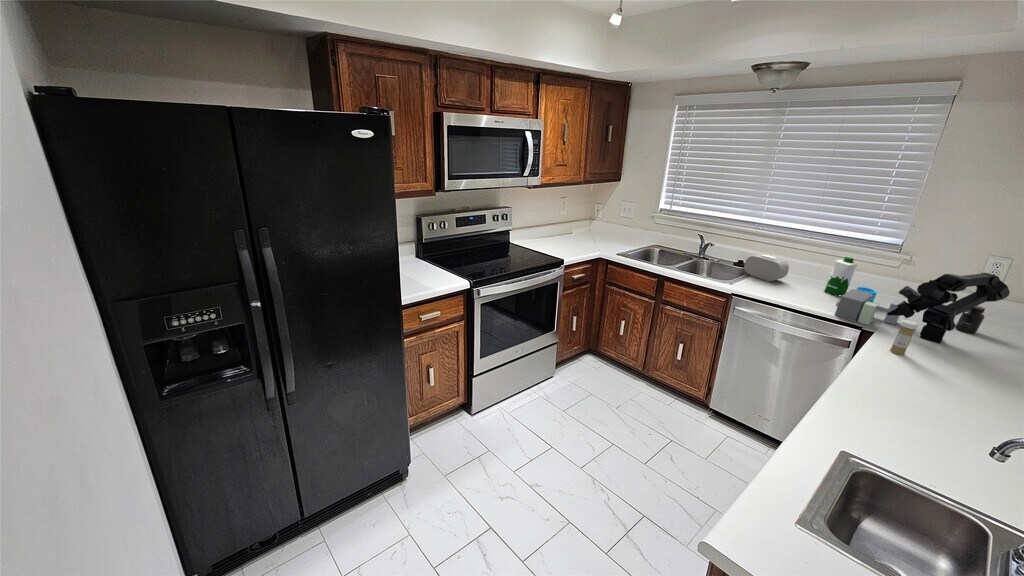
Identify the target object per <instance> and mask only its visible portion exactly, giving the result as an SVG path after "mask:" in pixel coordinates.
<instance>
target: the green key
mask: <svg viewBox="0 0 1024 576" xmlns="http://www.w3.org/2000/svg"><path fill="white" fill-rule="evenodd" d="M839 301H840V300H838V301H837V302H836V304H835V307H836V308H837V307H838V304H839ZM878 305H879V304H878V303H874V302H873V303H871V302H866V303H865V304H864V306H863V308H860V311H859V313H861V314H860V316H859V319H857V320H856V321H857V322H858V323H861V324H864V325H868V326H869V325H870V324H871V323H872V321H873V319H874V316H875V313H876V311H877V310H876V309H877V307H878Z"/></svg>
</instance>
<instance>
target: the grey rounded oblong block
mask: <svg viewBox="0 0 1024 576" xmlns="http://www.w3.org/2000/svg"><path fill="white" fill-rule="evenodd" d="M743 268H744V271H745V273H747V274H748V275H749V276H750V277H754V278H757V279H760V280H763V281H766V282H773V281H777V280H781V279H784V278H785V277H786V276H787V275H788V273H789V269H790V268H789V263H788V262H787V261H785V260H784V259H781V258H777V257H775V256H771V255H768V254H755V255H752V256H748V257H747V258H746V260H745V262H744V267H743Z"/></svg>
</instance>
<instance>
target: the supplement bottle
mask: <svg viewBox="0 0 1024 576" xmlns="http://www.w3.org/2000/svg"><path fill="white" fill-rule="evenodd" d="M985 310H986V308H984V307H982V306H979V305H977V306H975V307H973V308H971V309H969V310H967V311H965V312H963V313H961V315H960V316H959V318H958V321H957V322H956V323H955V325H956V326H955V328H954V329H956V330H957V331H958V332H961V333H964V332H965V333H966V334H968V333H969V335H975V334H976V333H977V332H978V330H979V329H980V327H981V324H982V323H983V321H984V319H985V314H984V313H985Z"/></svg>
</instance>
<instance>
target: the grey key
mask: <svg viewBox="0 0 1024 576" xmlns="http://www.w3.org/2000/svg"><path fill="white" fill-rule="evenodd" d="M900 303H901V302H897V301H892V302H891V303H890V305H889V306H888V307H886V306H884V305H880V304H878V307H877V309H876V311H879V312H882V313H886V314H885V316H884V320H883V322H886V323H889V324H891V325H896V323H898V321H899V319H900V317H901V316H898V315H888V314H887V313H888V312H890V311H892V310H894V309H896V308H898V307H897V305H898V304H900Z"/></svg>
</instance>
